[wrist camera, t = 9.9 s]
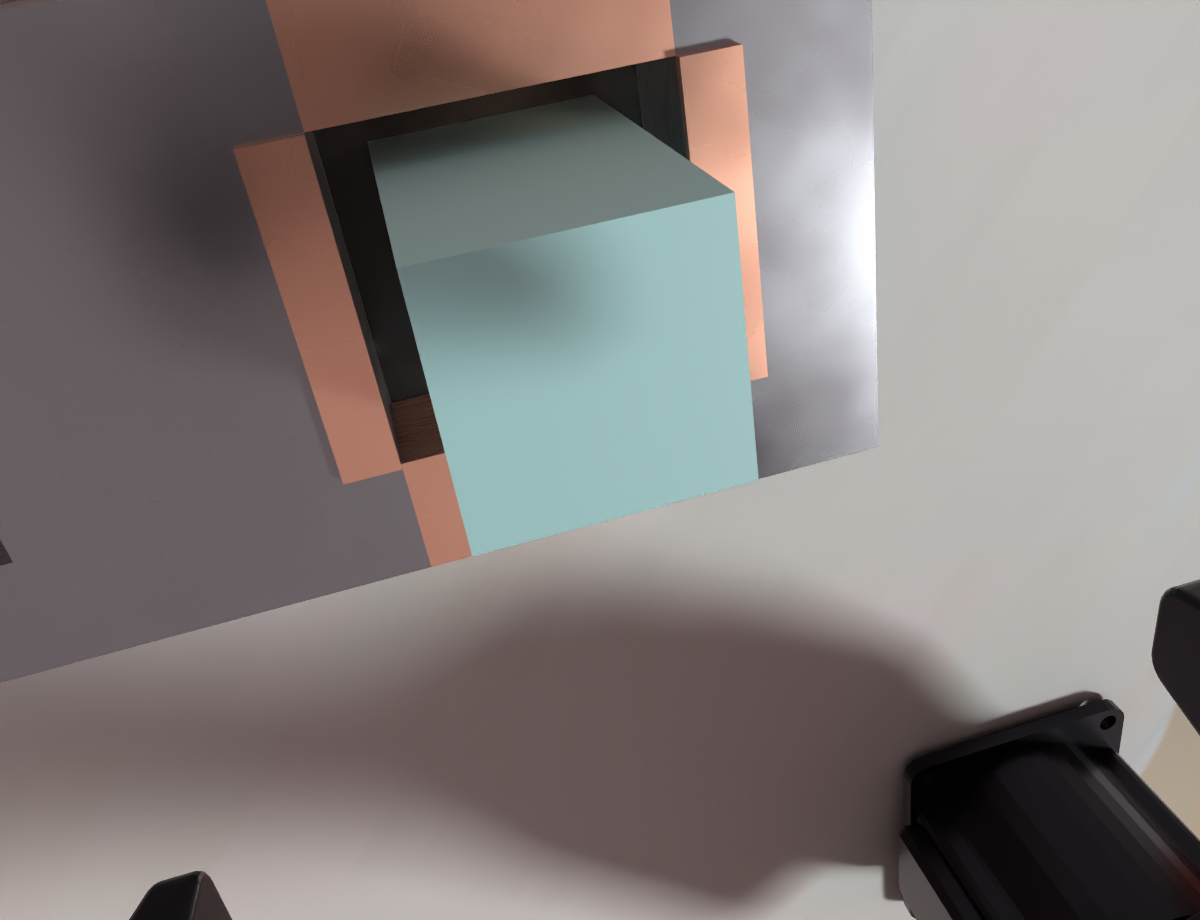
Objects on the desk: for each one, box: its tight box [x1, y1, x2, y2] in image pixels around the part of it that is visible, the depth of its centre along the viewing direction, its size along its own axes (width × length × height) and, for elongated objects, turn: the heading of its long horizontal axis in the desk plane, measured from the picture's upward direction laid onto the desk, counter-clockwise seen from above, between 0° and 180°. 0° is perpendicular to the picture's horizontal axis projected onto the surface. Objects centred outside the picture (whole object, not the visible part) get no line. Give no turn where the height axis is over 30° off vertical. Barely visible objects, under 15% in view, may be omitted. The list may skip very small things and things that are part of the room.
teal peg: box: [367, 95, 759, 557], centre depth 16 cm, size 4×4×7 cm
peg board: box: [0, 0, 878, 682], centre depth 17 cm, size 24×10×3 cm, turn 99°
